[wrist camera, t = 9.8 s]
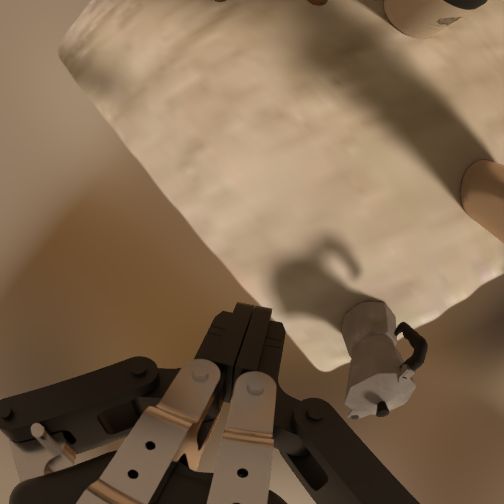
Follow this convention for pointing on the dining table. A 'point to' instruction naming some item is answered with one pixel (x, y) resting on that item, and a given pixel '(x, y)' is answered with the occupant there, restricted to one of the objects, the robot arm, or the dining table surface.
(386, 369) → the coffeepot
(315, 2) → the post inner
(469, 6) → the travel mug
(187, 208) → the dining table surface
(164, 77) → the dining table surface
